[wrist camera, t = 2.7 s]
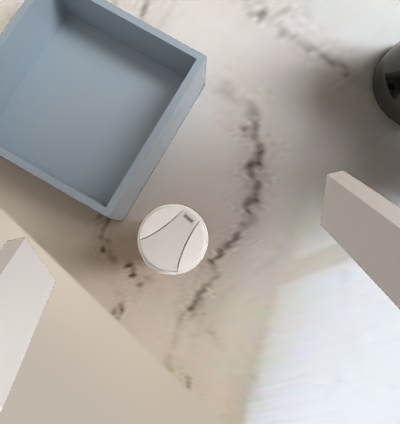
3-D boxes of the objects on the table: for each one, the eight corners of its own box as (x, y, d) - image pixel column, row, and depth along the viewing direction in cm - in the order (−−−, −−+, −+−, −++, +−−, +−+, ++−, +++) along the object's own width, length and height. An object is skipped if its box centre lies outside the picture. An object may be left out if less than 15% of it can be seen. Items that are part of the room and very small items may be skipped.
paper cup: (176, 204, 42) (167, 187, 28) (213, 234, 41) (223, 233, 27) (143, 242, 41) (118, 245, 27) (182, 274, 41) (176, 293, 27)
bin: (204, 85, 44) (206, 56, 37) (122, 221, 41) (108, 217, 34) (70, 10, 44) (47, -32, 37) (-18, 140, 42) (-61, 120, 35)
